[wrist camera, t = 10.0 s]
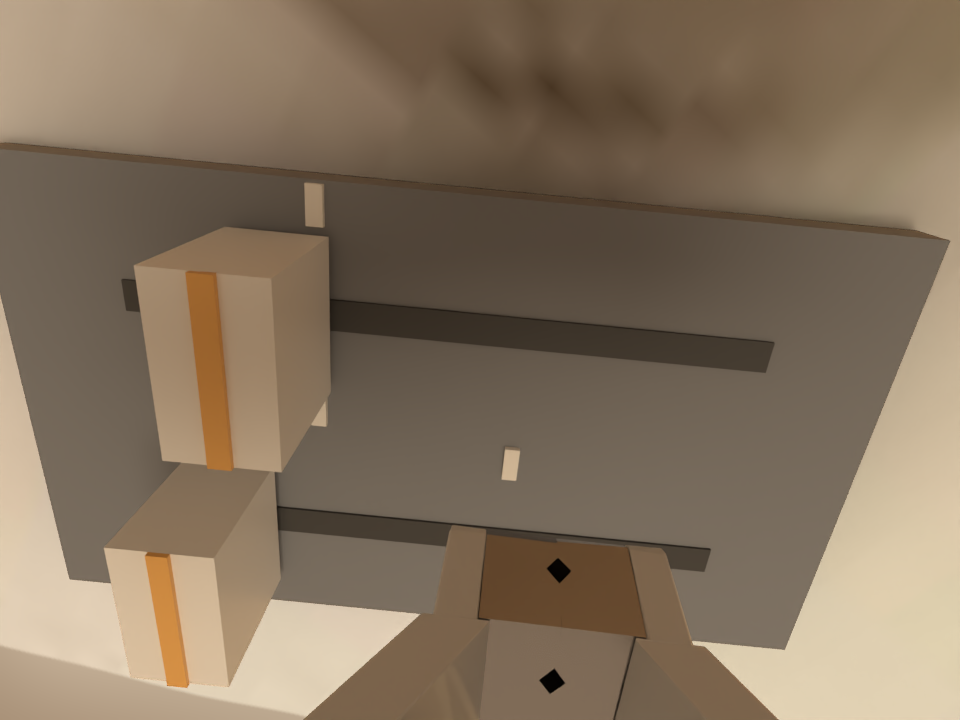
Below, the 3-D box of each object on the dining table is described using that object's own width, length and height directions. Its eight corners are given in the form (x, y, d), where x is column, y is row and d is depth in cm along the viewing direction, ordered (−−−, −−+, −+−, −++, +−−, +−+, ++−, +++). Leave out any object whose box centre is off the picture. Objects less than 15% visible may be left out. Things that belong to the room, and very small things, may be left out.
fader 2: (273, 465, 20) (211, 562, 16) (280, 578, 22) (226, 691, 18) (186, 456, 20) (100, 551, 16) (200, 570, 22) (127, 682, 18)
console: (916, 230, 18) (954, 242, 16) (768, 618, 24) (786, 654, 23) (5, 142, 18) (-42, 146, 17) (94, 552, 24) (65, 583, 23)
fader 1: (328, 236, 17) (268, 280, 13) (330, 392, 19) (279, 475, 15) (224, 226, 17) (129, 267, 13) (237, 383, 19) (159, 464, 15)
